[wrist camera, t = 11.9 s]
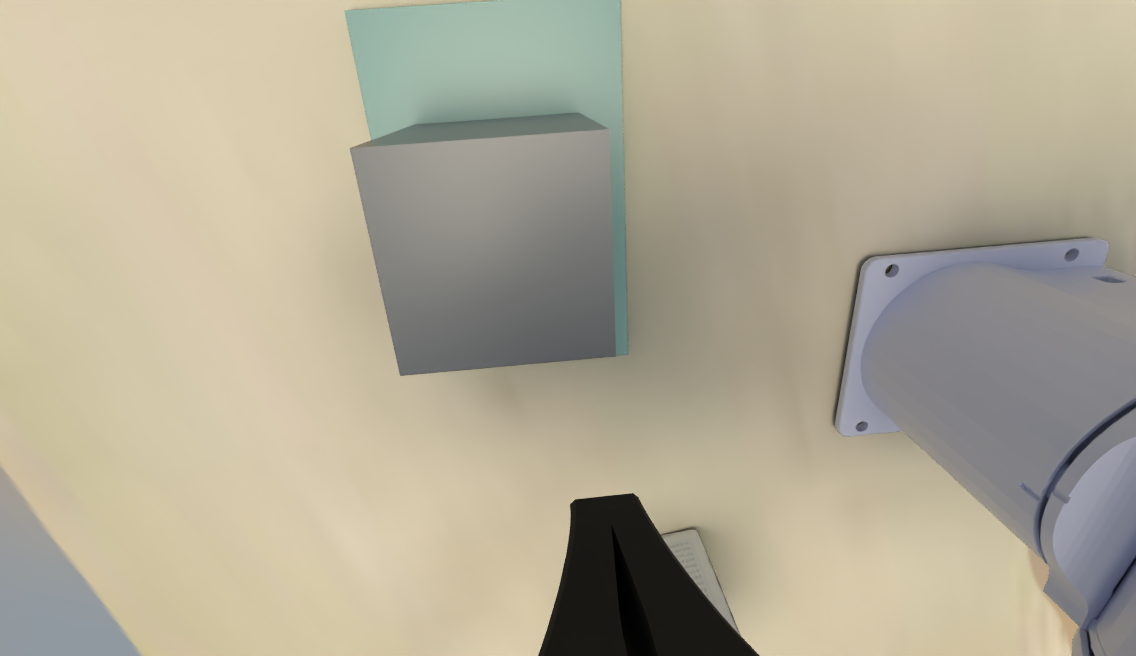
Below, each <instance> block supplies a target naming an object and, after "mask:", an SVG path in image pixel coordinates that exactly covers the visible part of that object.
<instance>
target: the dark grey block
mask: <svg viewBox="0 0 1136 656" xmlns="http://www.w3.org/2000/svg"><path fill="white" fill-rule="evenodd" d="M350 151H351V156H352V160H353V165H354V169H355V174H356V178H357V183H358V187H359V192H360V196H361V201H362V205H363V210H364V215H365V219H366V224H367V228H368V233H369V237H370V242H371V246H372V251H373V255H374V260H375V264H376V269H377V273H378V278H379V282H380V287H381V291H382V296H383V300H384V305H385V309H386V314H387V318H388V323H389V327H390V332H391V336H392V341H393V345H394V350H395V354H396V359H397V363H398V368H399V372H400V376H404V375H415V374H426V373H437V372H448V371H459V370H470V369H481V368H492V367H503V366H514V365H525V364H536V363H547V362H558V361H569V360H580V359H591V358H602V357H614V356H616V336H615V303H614V270H613V237H612V204H611V171H610V138H609V129H608V128H606V127H604V126H603V125H601V124H599V123H597V122H595V121H594V120H592V119H590V118H588V117H586V116H584V115H583V114H581V113H566V114H552V115H539V116H525V117H511V118H497V119H484V120H470V121H456V122H442V123H429V124H415V125H411V126H409V127H406V128H403V129H401V130H398V131H395V132H393V133H390V134H387V135H384V136H382V137H379V138H376V139H374V140H371V141H368V142H366V143H363V144H360V145H357V146H355V147H352V148H350Z"/></svg>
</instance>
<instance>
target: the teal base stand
mask: <svg viewBox="0 0 1136 656" xmlns="http://www.w3.org/2000/svg"><path fill="white" fill-rule="evenodd" d="M345 16H346V21H347V26H348V31H349V35H350V40H351V45H352V50H353V55H354V59H355V64H356V69H357V74H358V79H359V84H360V88H361V93H362V98H363V103H364V108H365V113H366V117H367V122H368V127H369V132H370V137H371V140H374V139H376V138H379V137H382V136H384V135H387V134H390V133H393V132H395V131H398V130H401V129H403V128H406V127H409V126H411V125H415V124H429V123H442V122H456V121H470V120H484V119H497V118H511V117H525V116H539V115H552V114H566V113H581V114H583V115H584V116H586V117H588V118H590V119H592V120H594V121H595V122H597V123H599V124H601V125H603V126H604V127H606V128H608V129H609V138H610V171H611V204H612V237H613V270H614V303H615V336H616V356H620V355H628V329H627V284H626V239H625V194H624V149H623V104H622V59H621V14H620V0H496V1H481V2H466V3H452V4H437V5H422V6H407V7H392V8H377V9H362V10H347V11H345Z"/></svg>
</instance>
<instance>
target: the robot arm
mask: <svg viewBox="0 0 1136 656" xmlns="http://www.w3.org/2000/svg"><path fill="white" fill-rule="evenodd" d="M1068 251H1069V252H1068ZM1067 252H1068V254H1067V255H1066V253H1067ZM1108 252H1109V244H1108V242H1107V241H1105V240H1103V239H1099V238H1082V239H1070V240H1059V241H1047V242H1036V243H1024V244H1013V245H1001V246H990V247H978V248H967V249H955V250H944V251H932V252H921V253H909V254H898V255H886V256H875V257H872V258H870V259H868V260H867V261H866V262H865V263H864V264H863V265H862V268H861V271H860V277H859V283H858V289H857V295H856V301H855V307H854V313H853V319H852V325H851V331H850V337H849V343H848V349H847V355H846V361H845V367H844V373H843V379H842V385H841V391H840V396H839V402H838V408H837V414H836V420H835V428H836V430H837V431H838V432H839V433H840V434H841V435H842V436H846V437H850V436H860V435H870V434H880V433H890V432H900V431H903V432H904V433H905V434H906V435H907V436H908V437H910V438H911V439H912V440H913V441H914V442H915V443H916V444H917V445H918V446H919V447H920V448H922V449H923V450H924V451H925V452H926V453H927V454H928V455H929V456H930V457H931V458H932V459H933V460H935V461H936V462H937V463H938V464H939V465H940V466H941V467H942V468H943V469H944V470H945V471H946V472H948V473H949V474H950V475H951V476H952V477H953V478H954V479H955V480H956V481H957V482H958V483H959V484H961V485H962V486H963V487H964V488H965V489H966V490H967V491H968V492H969V493H970V494H971V495H972V496H974V497H975V498H976V499H977V500H978V501H979V502H980V503H981V504H982V505H983V506H984V507H985V508H987V509H988V510H989V511H990V512H991V513H992V514H993V515H994V516H995V517H996V518H997V519H999V520H1000V521H1001V522H1002V523H1003V524H1004V525H1005V526H1006V527H1007V528H1008V529H1009V530H1010V531H1012V532H1013V533H1014V534H1015V535H1016V536H1017V537H1018V538H1019V539H1020V540H1021V541H1022V542H1023V543H1025V544H1026V545H1027V546H1028V547H1029V548H1030V549H1031V550H1032V551H1033V552H1034V553H1035V554H1036V555H1038V556H1039V557H1040V558H1041V559H1042V560H1043V561H1044V562H1045V563H1046V564H1048V566H1049V576H1048V580H1047V582H1046V584H1045V586H1044V589H1043V591H1044V592H1045V593H1046V594H1047V595H1048V596H1049V597H1050V598H1051V599H1052V600H1053V601H1054V602H1055V603H1056V604H1057V605H1058V606H1059V607H1060V608H1061V609H1062V610H1063V611H1064V612H1065V613H1066V614H1067V615H1068V616H1069V617H1070V618H1071V619H1072V620H1073V621H1075V623H1076V624H1077V625H1078V626H1079V627H1078V628H1077V630H1076V633H1075V635H1074V637H1073V639H1072V656H1136V277H1135V276H1132V275H1129V274H1125V273H1122V272H1119V271H1116V270H1113V269H1110V268H1106V267H1103V266H1104V263H1105V260H1106V258H1107V255H1108ZM1065 255H1066V256H1065ZM889 265H892V269H891V271H890V272H889V273H887V274H885V270H886V268H887V267H888V266H889ZM860 422H862V423H861V424H860V425H859V426H857V424H858V423H860ZM570 508H571V523H570V534H569V541H568V547H567V554H566V559H565V563H564V568H563V572H562V577H561V582H560V586H559V590H558V594H557V597H556V601H555V604H554V608H553V611H552V615H551V618H550V621H549V625H548V628H547V631H546V635H545V638H544V641H543V644H542V647H541V649H540V652H539V655H538V656H759V655H758V654H757V653H756V652H755V651H754V649H753V648H752V647H751V646H750V645H749V644H748V643H747V642H746V641H745V640H744V639H743V638H742V637H741V636H740V635H739V634H738V633H737V632H736V630H735V629H734V628H733V627H732V626H731V625H730V624H729V623H728V622H727V620H726V619H725V618H724V617H723V616H722V615H721V614H720V612H719V611H718V610H717V609H716V608H715V606H714V605H713V604H712V603H711V602H710V600H709V599H708V598H707V597H706V596H705V594H704V593H703V592H702V591H701V590H700V588H699V587H698V586H697V585H696V583H695V582H694V581H693V579H692V578H691V577H690V576H689V574H688V573H687V571H686V570H685V569H684V567H683V566H682V565H681V563H680V562H679V561H678V559H677V558H676V557H675V555H674V554H673V553H672V551H671V550H670V548H669V547H668V546H667V544H666V543H665V541H664V540H663V538H662V537H661V535H660V534H659V532H658V531H657V529H656V528H655V526H654V524H653V523H652V521H651V520H650V518H649V516H648V515H647V513H646V511H645V509H644V508H643V506H642V504H641V502H640V500H639V498H638V497H637V496H636V495H634V494H633V493H632V494H622V495H613V496H604V497H594V498H585V499H576V500H574V501H573V502H572V503H571V504H570Z"/></svg>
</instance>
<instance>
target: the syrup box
mask: <svg viewBox="0 0 1136 656" xmlns="http://www.w3.org/2000/svg"><path fill="white" fill-rule="evenodd" d="M661 537H662V538H663V540H664V541H665V543H666V544H667V546H668V547H669V548H670V550H671V551H672V553H673V554H674V555H675V557H676V558H677V559H678V561H679V562H680V563H681V565H682V566H683V567H684V569H685V570H686V571H687V573H688V574H689V576H690V577H691V578H692V579H693V581H694V582H695V583H696V585H697V586H698V587H699V588H700V590H701V591H702V592H703V593H704V594H705V596H706V597H707V598H708V599H709V600H710V602H711V603H712V604H713V605H714V606H715V608H716V609H717V610H718V611H719V612H720V614H721V615H722V616H723V617H724V618H725V619H726V620H727V622H728V623H729V624H730V625H731V626H732V627H733V628H734V629H735V630H736V632H737V633H738V634H739V635H740V632H739V630H738V628H737V626H736V623H735V621H734V618H733V615H732V613H731V611H730V608H729V606H728V603H727V601H726V598H725V596H724V593H723V591H722V588H721V586H720V583H719V581H718V578H717V576H716V574H715V571H714V569H713V566H712V564H711V561H710V559H709V557H708V554H707V552H706V549H705V547H704V545H703V542H702V540H701V537H700V535H699V533H698V532H697V531H696V530H686V531H682V532H676V533H671V534H666V535H661ZM740 636H741V635H740Z"/></svg>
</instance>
